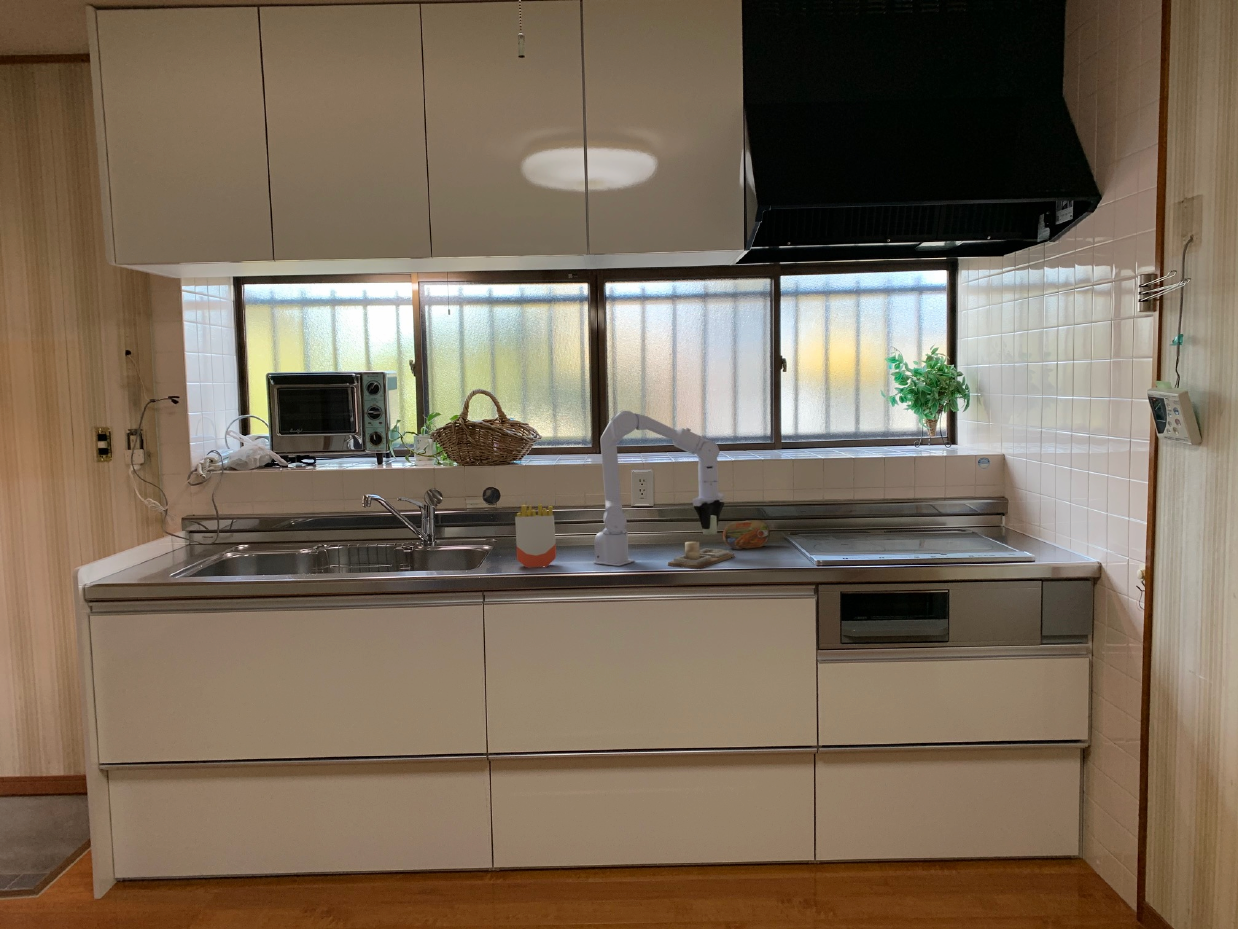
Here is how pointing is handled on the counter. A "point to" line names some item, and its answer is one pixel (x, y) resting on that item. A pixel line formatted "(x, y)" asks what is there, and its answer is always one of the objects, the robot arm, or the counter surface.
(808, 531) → the counter surface
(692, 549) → the ash peg
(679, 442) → the robot arm
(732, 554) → the board
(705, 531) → the sage peg
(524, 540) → the french fries container
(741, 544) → the tin
